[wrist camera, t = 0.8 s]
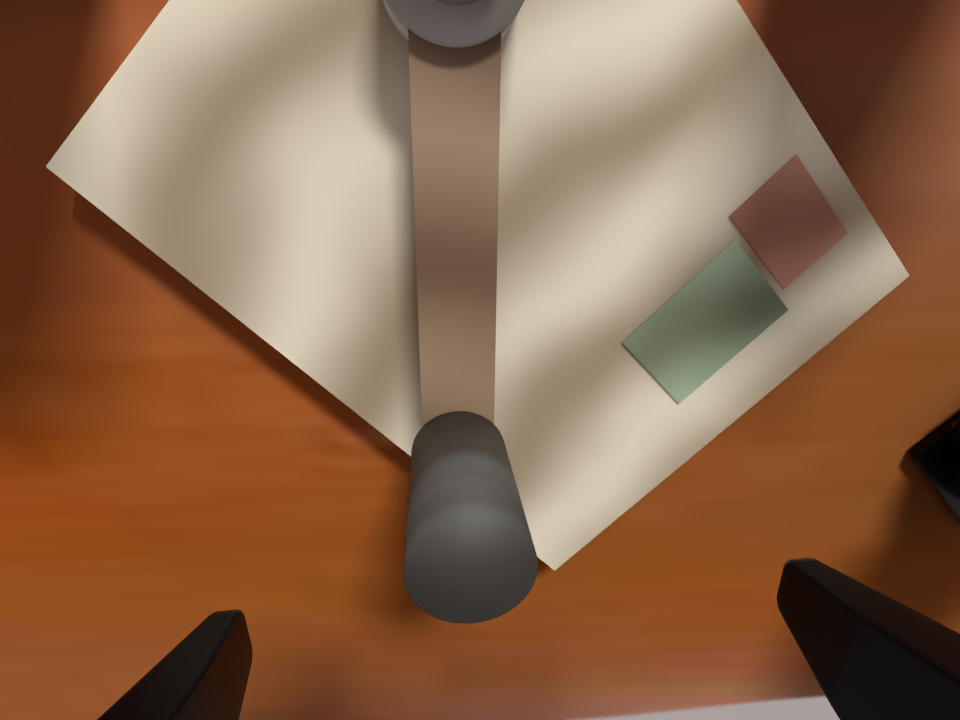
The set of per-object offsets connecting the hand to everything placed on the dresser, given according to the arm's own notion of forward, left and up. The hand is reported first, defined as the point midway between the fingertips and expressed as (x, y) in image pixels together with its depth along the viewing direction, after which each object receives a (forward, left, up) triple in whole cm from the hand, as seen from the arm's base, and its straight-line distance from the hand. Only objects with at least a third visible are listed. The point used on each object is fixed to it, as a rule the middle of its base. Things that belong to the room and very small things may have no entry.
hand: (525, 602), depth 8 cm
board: (+2, -5, -12) cm, 13 cm away
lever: (+5, -4, -10) cm, 12 cm away
